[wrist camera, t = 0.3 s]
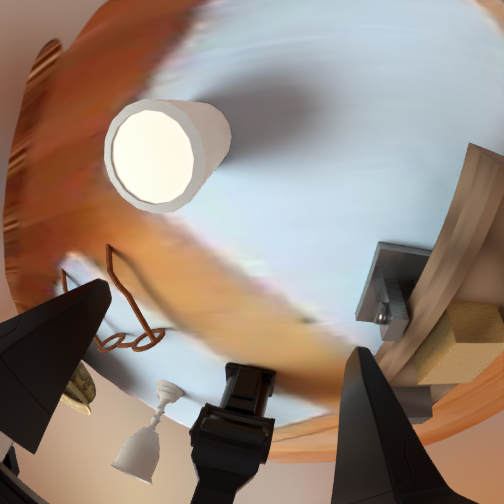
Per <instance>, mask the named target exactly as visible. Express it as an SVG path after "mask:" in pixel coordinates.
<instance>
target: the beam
mask: <svg viewBox="0 0 504 504" xmlns="http://www.w3.org/2000/svg"><path fill="white" fill-rule="evenodd" d="M451 300H461V301H471V302H481V303H491V304H496V306H497V308H498V311H499V313H500V316H501V318H502V321H503V324H504V157H503V156H501V155H499V154H497V153H494V152H492V151H490V150H487V149H485V148H482V147H480V146H477V145H475V144H472V143H469V145H468V149H467V153H466V157H465V161H464V164H463V168H462V171H461V175H460V178H459V181H458V185H457V188H456V191H455V194H454V197H453V200H452V203H451V205H450V208H449V211H448V214H447V216H446V219H445V222H444V224H443V227H442V229H441V232H440V234H439V237H438V239H437V241H436V244H435V246H434V248H433V251H432V253H431V255H430V257H429V260H428V262H427V264H426V266H425V268H424V270H423V272H422V274H421V277H420V279H419V281H418V283H417V285H416V286H415V288H414V290H413V292H412V294H411V296H410V298H409V300H408V302H407V304H406V305H405V306H406V310H407V313H408V317H409V322H408V324H407V326H406V328H405V330H404V331H403V333H402V335H401V337H400V339H399V340H398V342H394V341H384V343H383V344H382V346H381V347H380V349H379V350H378V352H377V353H376V355H375V356H374V358H375V360H376V362H377V364H378V365H379V367H380V369H381V370H382V372H383V374H384V376H385V377H386V379H387V381H388V383H389V385H390V386H391V388H392V390H393V392H394V393H395V395H396V397H397V399H398V401H399V402H400V404H401V406H402V408H403V410H404V412H405V413H406V415H407V417H408V419H409V421H410V423H411V424H423V423H424V422H426V421H427V420H429V419H430V418H432V417H433V414H432V406H433V405H434V404H435V403H436V402H438V401H439V400H440V399H441V398H443V397H444V396H445V395H446V394H448V393H449V392H450V391H451V390H452V389H453V388H455V387H456V386H457V385H458V384H459V383H453V384H420V385H417V377H416V367H415V359H414V352H415V351H416V349H417V348H418V347H419V346H420V344H421V343H422V342H423V340H424V339H425V338H426V336H427V335H428V334H429V332H430V331H431V329H432V328H433V327H434V325H435V324H436V322H437V321H438V319H439V318H440V316H441V315H442V313H443V312H444V310H445V309H446V307H447V306H448V304H449V303H450V301H451Z"/></svg>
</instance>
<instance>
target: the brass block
mask: <svg viewBox="0 0 504 504" xmlns="http://www.w3.org/2000/svg"><path fill="white" fill-rule="evenodd" d="M503 350H504V324H503V321H502V318H501V316H500V313H499V311H498V308H497V306H496V304H491V303H481V302H471V301H461V300H451V301H450V303H449V304H448V306H447V307H446V309H445V310H444V312H443V313H442V315H441V316H440V318H439V319H438V321H437V322H436V324H435V325H434V327H433V328H432V329H431V331H430V332H429V334H428V335H427V336H426V338H425V339H424V340H423V342H422V343H421V344H420V346H419V347H418V348H417V349H416V351H415V352H414V359H415V367H416V377H417V385H420V384H453V383H468V382H471V381H472V380H473V379H474V378H476V377H477V376H478V375H479V374H480V373H481V372H482V371H483V370H484V369H485V368H486V367H487V366H488V365H489V364H490V363H491V362H492V361H493V360H494V359H495V358H496V357H497V356H498V355H499V354H500V353H501V352H502V351H503Z"/></svg>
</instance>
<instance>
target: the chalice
mask: <svg viewBox="0 0 504 504" xmlns="http://www.w3.org/2000/svg"><path fill="white" fill-rule="evenodd" d="M183 394H184V393H183V391H182V390H181V389H180V388H179V387H178V386H176V385H174V384H172V383H170V382H167V381H162V380H160V381H158V382H157V395H158V397H159V398H160V401H161V402H160V405H159V406H158V408H155V410H156V414H155V415H154V416H153V417H152V418H151V419H152V421H151V425H150V426H149V427H148V428H147V427H143V428H141V429H140V430H138V431H137V432H136V433H134V434H133V435H132V436H131V437H129V438H128V439H127V440H126V441H125V442H124V444H123V446H122V448H121V450H120V452H119V454H118V456H117V459H116V461H114V462H113V463H111V464H110V465H111V466H113V467H115V468H116V469H118V470H120V471H122V472H124V473H126V474H128V475H130V476H132V477H134V478H136V479H139V480H141V481H144V482H146V483H149V484H152V479H151V477H152V475H153V472H154V470H155V468H156V465H157V463H158V461H159V450H160V447H159V437H158V433H157V432H156V431H155V427H156V425H157V424H158V423H159V422H160V416H161V415H162V414H164V413H165V412H164V407H165V405H166V404H168V403H174V402H176V400H178V399H179V398H180V397H181V396H182V395H183Z"/></svg>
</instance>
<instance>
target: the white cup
mask: <svg viewBox="0 0 504 504" xmlns="http://www.w3.org/2000/svg"><path fill="white" fill-rule="evenodd" d="M231 139H232V135H231V130H230V125H229V122H228V121H227V119H226V118H225V116H224V115H223V113H222V112H221V111H220V110H218V109H217V108H215V107H214V106H212V105H210V104H208V103H202V102H195V101H182V100H165V99H144V100H141V101H138V102H136V103H133V104H130V105H128V106H126V107H125V108H124V109H123V110H122V111H121V112H120V113H119V114H118V115H117V116H116V117H115V118H114V120H113V121H112V123H111V125H110V128H109V130H108V133H107V136H106V138H105V156H104V160H105V164H106V167H107V171H108V174H109V177H110V180H111V182H112V183H113V185H114V186H115V187H116V189H117V190H118V192H119V193H120V195H121V196H122V197H123V198H124V199H126V200H127V201H128V202H130V203H131V204H132V205H134V206H135V207H136V208H138V209H141V210H145V211H148V212H151V213H155V214H158V213H166V212H174V211H176V210H177V209H179V208H181V207H182V206H184V205H185V204H187V203H188V202H190V201H191V200H192V199H193V197H194V196H195V195H196V194H197V192H198V191H199V190H200V188H201V187H202V186H203V185H204V183H205V182H206V181H207V179H208V178H209V177H210V176H211V174H212V173H213V172H214V171H215V169H216V168H217V167H218V166H219V165H220V163H221V162H222V161H223V159H224V158H225V156H226V155H227V153H228V152H229V149H230V144H231Z"/></svg>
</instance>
